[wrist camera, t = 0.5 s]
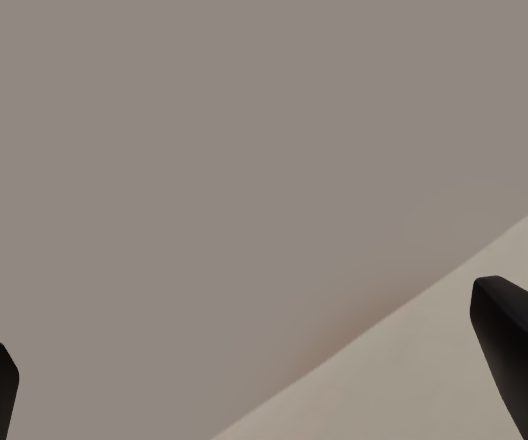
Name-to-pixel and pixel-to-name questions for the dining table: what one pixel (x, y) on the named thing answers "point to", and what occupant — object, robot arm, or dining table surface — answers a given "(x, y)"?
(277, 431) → the dining table surface
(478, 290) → the robot arm
